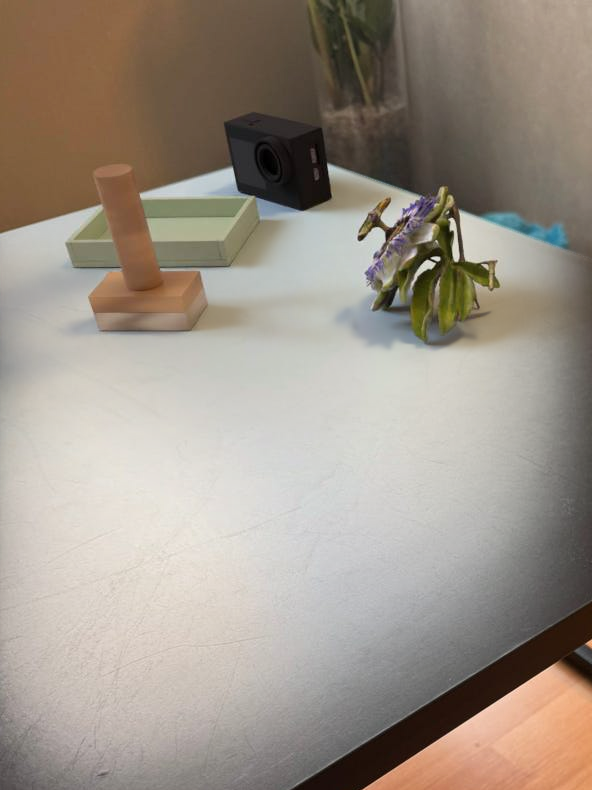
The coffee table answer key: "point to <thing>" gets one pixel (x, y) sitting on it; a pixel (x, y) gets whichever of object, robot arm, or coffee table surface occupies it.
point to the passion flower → (411, 249)
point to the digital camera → (279, 160)
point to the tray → (175, 232)
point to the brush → (139, 267)
